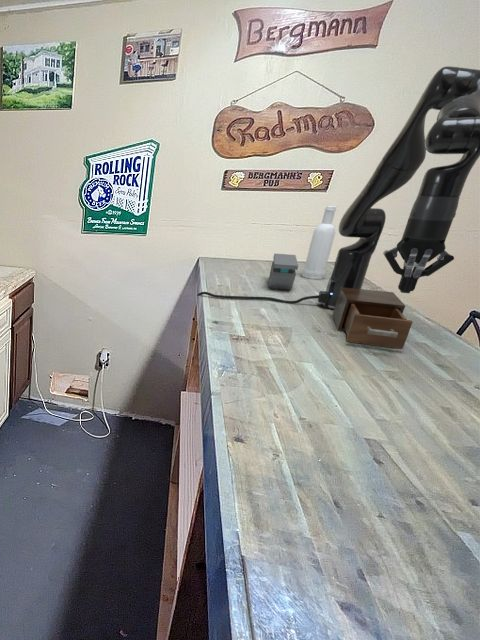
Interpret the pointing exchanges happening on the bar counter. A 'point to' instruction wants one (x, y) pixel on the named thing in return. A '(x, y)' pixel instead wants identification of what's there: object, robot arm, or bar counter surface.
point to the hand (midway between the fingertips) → (404, 292)
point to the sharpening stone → (283, 271)
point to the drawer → (376, 325)
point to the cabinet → (362, 302)
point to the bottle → (320, 246)
